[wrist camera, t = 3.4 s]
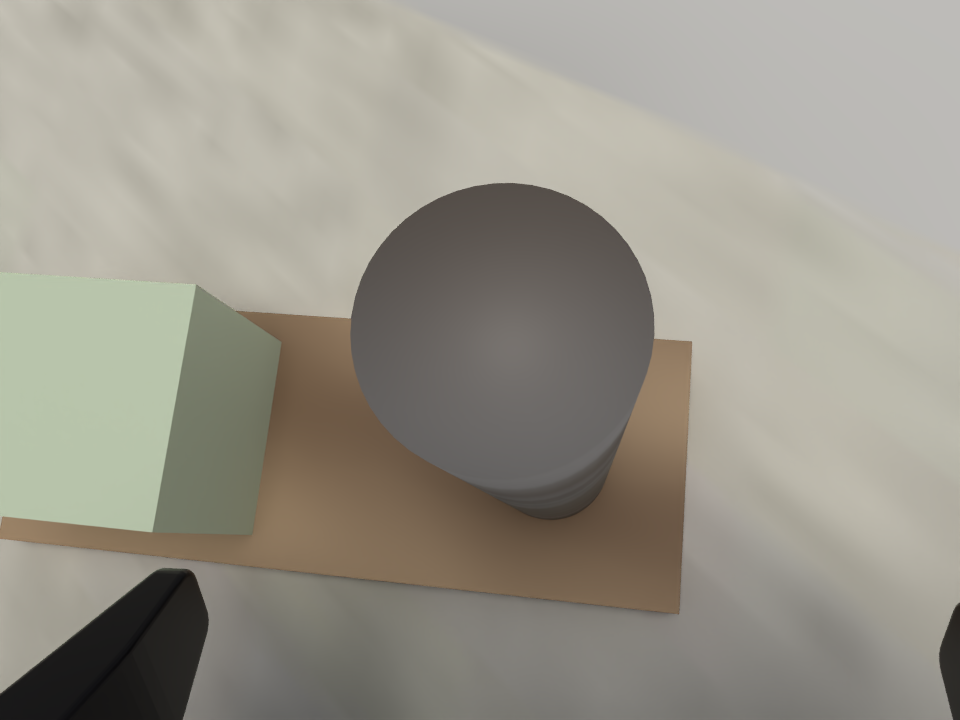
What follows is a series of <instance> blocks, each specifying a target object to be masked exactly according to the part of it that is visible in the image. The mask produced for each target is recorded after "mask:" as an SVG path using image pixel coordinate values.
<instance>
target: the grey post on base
mask: <svg viewBox="0 0 960 720" xmlns="http://www.w3.org/2000/svg"><path fill="white" fill-rule="evenodd" d="M236 312H238V313H239V314H241V315H242V316H244V317H245V318H247V319H248V320H249V321H251V322H252V323H254V324H255V325H257V326H258V327H260V328H261V329H263V330H264V331H266V332H267V333H269V334H270V335H272V336H273V337H275V338H276V339H278V340H279V341H281V342H282V343H281V349H280V356H279V363H278V369H277V376H276V382H275V389H274V395H273V402H272V409H271V415H270V422H269V428H268V435H267V441H266V448H265V454H264V461H263V468H262V474H261V481H260V487H259V494H258V500H257V507H256V514H255V520H254V527H253V533H252V535H231V534H193V533H155V532H144V531H134V530H125V529H116V528H106V527H97V526H88V525H78V524H69V523H60V522H50V521H41V520H32V519H22V518H13V517H4V516H3V517H2V522H1V527H0V539H8V540H17V541H26V542H35V543H44V544H53V545H62V546H71V547H80V548H89V549H98V550H107V551H116V552H125V553H134V554H143V555H152V556H161V557H170V558H179V559H188V560H197V561H206V562H215V563H224V564H233V565H242V566H251V567H260V568H269V569H278V570H287V571H296V572H305V573H314V574H323V575H332V576H341V577H350V578H359V579H368V580H377V581H386V582H395V583H404V584H413V585H422V586H431V587H440V588H449V589H458V590H467V591H476V592H485V593H494V594H503V595H512V596H521V597H530V598H539V599H548V600H557V601H566V602H575V603H584V604H593V605H602V606H611V607H620V608H629V609H638V610H647V611H656V612H665V613H674V614H679V605H680V584H681V563H682V543H683V522H684V501H685V480H686V459H687V438H688V417H689V396H690V375H691V355H692V342H691V341H676V340H661V339H654V312H653V305H652V299H651V294H650V291H649V287H648V284H647V281H646V277H645V275H644V273H643V271H642V268H641V266H640V264H639V262H638V260H637V258H636V257H635V255H634V253H633V252H632V250H631V249H630V247H629V245H628V244H627V243H626V241H625V240H624V239H623V238H622V237H621V235H620V234H619V233H618V232H617V231H616V229H615V228H614V227H613V226H611V225H610V224H609V223H608V222H607V221H606V220H605V219H604V218H603V217H602V216H600V215H599V214H598V213H596V212H595V211H593V210H592V209H590V208H589V207H588V206H586V205H584V204H583V203H581V202H579V201H577V200H575V199H573V198H571V197H569V196H567V195H564V194H561V193H559V192H556V191H553V190H551V189H546V188H542V187H538V186H533V185H525V184H516V183H496V184H487V185H480V186H474V187H470V188H466V189H463V190H459V191H456V192H453V193H451V194H448V195H446V196H443V197H441V198H438V199H436V200H435V201H433V202H431V203H429V204H427V205H425V206H424V207H422V208H420V209H419V210H418V211H416V212H415V213H413V214H412V215H411V216H409V217H408V218H407V219H405V220H404V221H403V222H402V223H401V224H400V225H399V226H398V227H397V228H396V229H395V230H393V231H392V233H391V234H390V235H389V236H388V237H387V238H386V240H385V241H384V242H383V243H382V244H381V246H380V247H379V248H378V250H377V251H376V253H375V255H374V256H373V258H372V259H371V261H370V262H369V264H368V266H367V268H366V270H365V272H364V275H363V277H362V279H361V281H360V284H359V287H358V290H357V293H356V296H355V301H354V306H353V311H352V316H351V319H348V318H333V317H318V316H303V315H288V314H273V313H258V312H243V311H236Z"/></svg>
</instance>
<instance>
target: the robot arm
mask: <svg viewBox="0 0 960 720" xmlns="http://www.w3.org/2000/svg"><path fill="white" fill-rule="evenodd" d="M208 623H209V619H208V612H207V609H206V606H205V603H204V600H203V597H202V594H201V591H200V588H199V585H198V582H197V579H196V577H195V575H194V573H193V572H192V571H190V570H188V569H172V568H162V569H159V570H156V571H155V572H153V573H152V574H150V575H149V576H148V577H147V578H145V579H144V580H143V581H142V582H140V583H139V584H138V585H137V586H135V587H134V588H133V589H132V590H130V591H129V592H128V593H127V594H125V595H124V596H123V597H121V598H120V599H119V600H118V601H116V602H115V603H114V604H113V605H111V606H110V607H109V608H108V609H106V610H105V611H104V612H103V613H101V614H100V615H99V616H98V617H96V618H95V619H94V620H93V621H91V622H90V623H89V624H87V625H86V626H85V627H84V628H82V629H81V630H80V631H79V632H77V633H76V634H75V635H74V636H72V637H71V638H70V639H69V640H67V641H66V642H65V643H64V644H62V645H61V646H60V647H59V648H57V649H56V650H55V651H53V652H52V653H51V654H50V655H48V656H47V657H46V658H45V659H43V660H42V661H41V662H40V663H38V664H37V665H36V666H35V667H33V668H32V669H31V670H30V671H28V672H27V673H26V674H25V675H23V676H22V677H21V678H19V679H18V680H17V681H16V682H14V683H13V684H12V685H11V686H9V687H8V688H7V689H6V690H4V691H3V692H2V693H1V694H0V720H183V717H184V713H185V710H186V706H187V703H188V699H189V696H190V692H191V688H192V685H193V681H194V678H195V674H196V671H197V667H198V664H199V660H200V657H201V653H202V649H203V646H204V642H205V639H206V635H207V631H208ZM939 662H940V669H941V673H942V677H943V681H944V685H945V689H946V693H947V697H948V701H949V705H950V709H951V713H952V717H953V720H960V603H958V604H957V605H956V607H955V609H954V611H953V614H952V616H951V619H950V622H949V625H948V627H947V630H946V633H945V636H944V638H943V641H942V644H941V647H940V653H939Z"/></svg>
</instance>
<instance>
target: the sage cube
mask: <svg viewBox="0 0 960 720" xmlns="http://www.w3.org/2000/svg"><path fill="white" fill-rule="evenodd" d="M281 343H282V342H281V341H279V340H278V339H276V338H275V337H273V336H272V335H270V334H269V333H267V332H266V331H264V330H263V329H261V328H260V327H258V326H257V325H255V324H254V323H252V322H251V321H249V320H248V319H247V318H245V317H244V316H242V315H241V314H239V313H238V312H236V311H235V310H233V309H232V308H230V307H229V306H227V305H226V304H224V303H223V302H221V301H220V300H218V299H217V298H215V297H214V296H212V295H211V294H209V293H208V292H206V291H205V290H203V289H202V288H201V287H199V286H198V285H196V284H180V283H164V282H148V281H132V280H116V279H100V278H84V277H68V276H52V275H36V274H21V273H5V272H0V516H4V517H13V518H22V519H32V520H41V521H50V522H60V523H69V524H78V525H88V526H97V527H106V528H116V529H125V530H134V531H144V532H155V533H193V534H231V535H252V533H253V527H254V520H255V514H256V507H257V500H258V494H259V487H260V481H261V474H262V468H263V461H264V454H265V448H266V441H267V435H268V428H269V422H270V415H271V409H272V402H273V395H274V389H275V382H276V376H277V369H278V363H279V356H280V349H281Z"/></svg>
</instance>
